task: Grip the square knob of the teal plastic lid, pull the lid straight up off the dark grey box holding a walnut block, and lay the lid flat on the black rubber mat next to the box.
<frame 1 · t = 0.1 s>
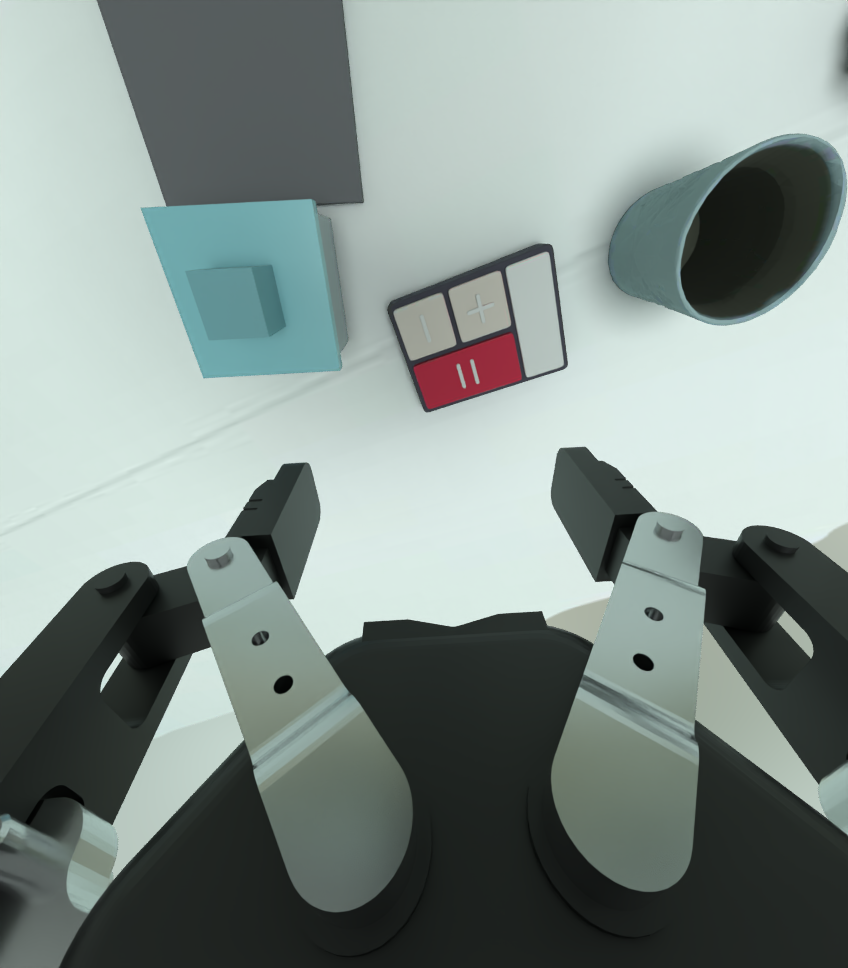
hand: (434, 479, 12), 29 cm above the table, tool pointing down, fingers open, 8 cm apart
mat: (239, 70, 27), on the table
lid: (263, 294, 29), point 6 cm above the table, touching box
grey cup: (652, 242, 34), on the table
box: (286, 287, 34), on the table
calculator: (476, 331, 38), on the table
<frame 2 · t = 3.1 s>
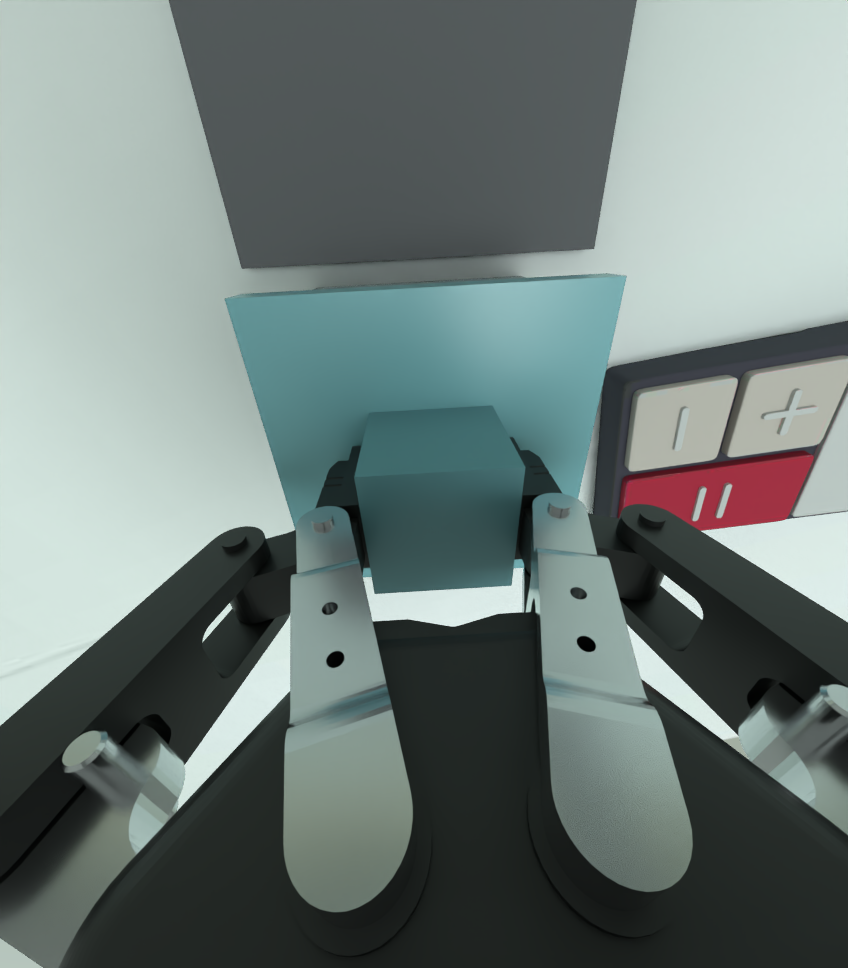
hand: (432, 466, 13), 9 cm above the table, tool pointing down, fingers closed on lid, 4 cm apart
lid: (429, 430, 15), point 7 cm above the table, touching box, gripper
box: (423, 382, 21), on the table
calculator: (711, 427, 24), on the table
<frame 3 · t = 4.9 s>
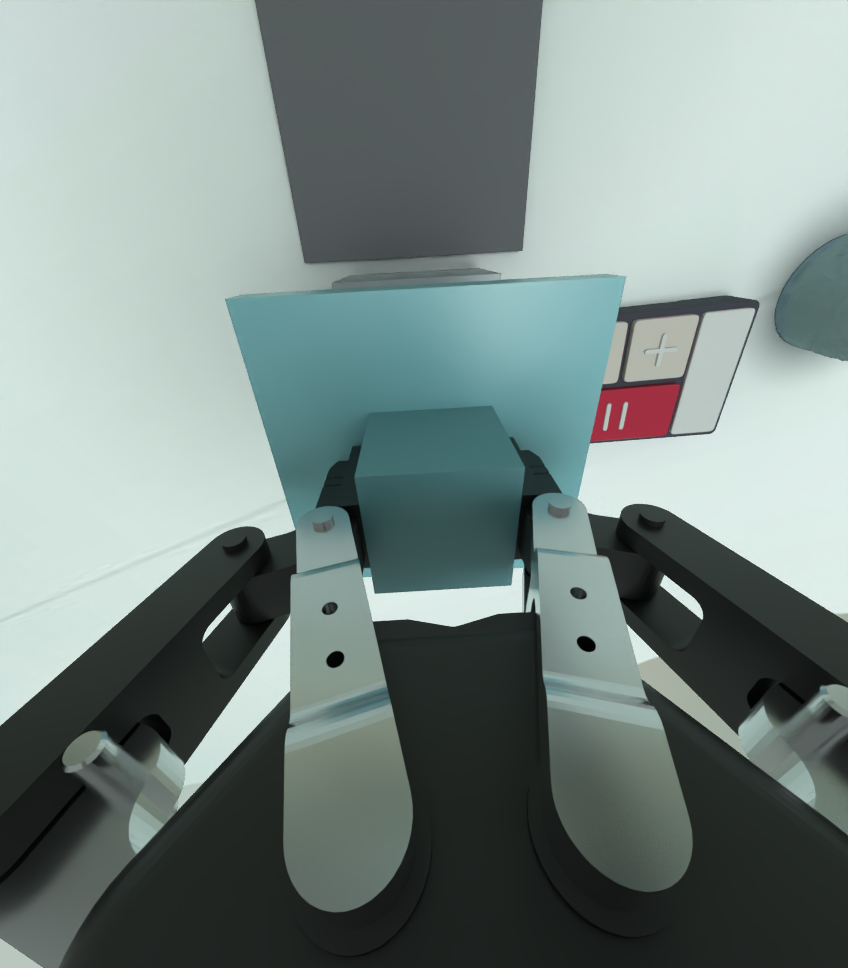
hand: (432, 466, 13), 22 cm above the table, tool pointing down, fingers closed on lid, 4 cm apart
mat: (405, 110, 24), on the table
lid: (429, 430, 15), point 19 cm above the table, touching gripper
grey cup: (827, 290, 30), on the table
box: (418, 340, 31), on the table
calculator: (622, 370, 34), on the table
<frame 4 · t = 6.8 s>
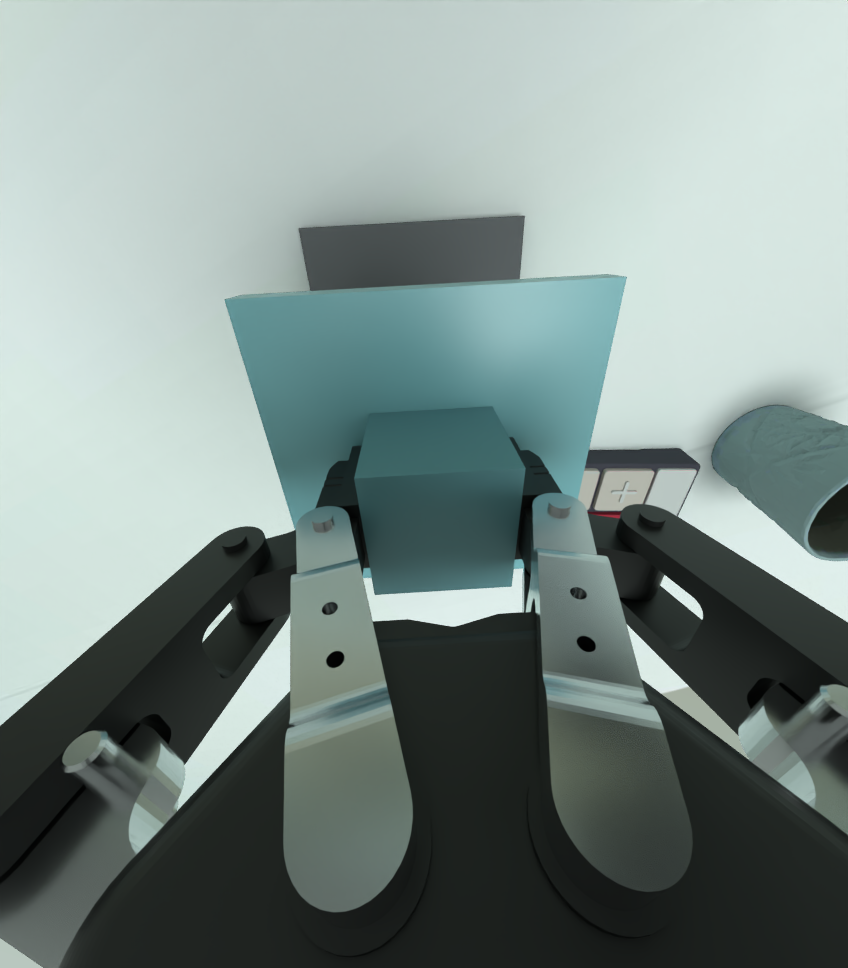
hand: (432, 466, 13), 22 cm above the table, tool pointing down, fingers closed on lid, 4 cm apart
mat: (417, 338, 31), on the table
lid: (429, 431, 15), point 19 cm above the table, touching gripper
grey cup: (752, 441, 38), on the table
calculator: (594, 490, 41), on the table
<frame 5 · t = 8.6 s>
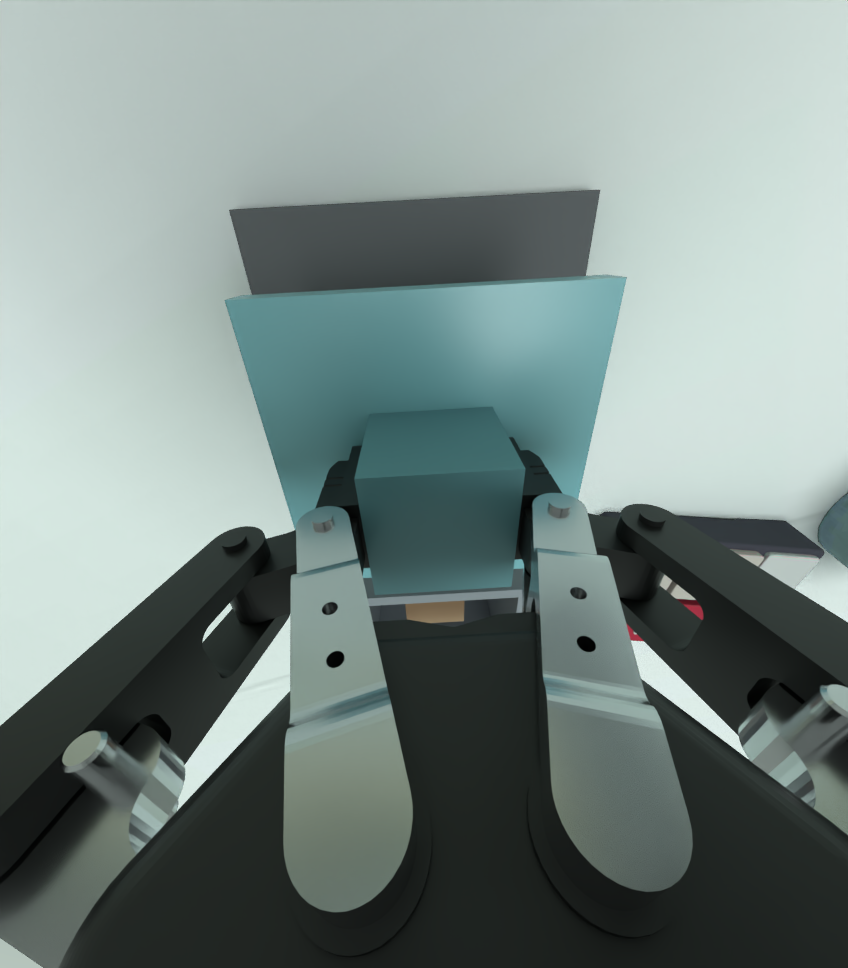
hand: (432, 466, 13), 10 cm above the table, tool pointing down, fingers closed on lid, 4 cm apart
mat: (422, 377, 21), on the table
lid: (429, 431, 15), point 7 cm above the table, touching gripper
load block: (431, 561, 28), point 1 cm above the table, touching box
box: (431, 555, 29), on the table
calculator: (660, 563, 31), on the table
when the fingers open (6 cm above the table, at t = 10.3 s): lid drops 2 cm, resting on mat.
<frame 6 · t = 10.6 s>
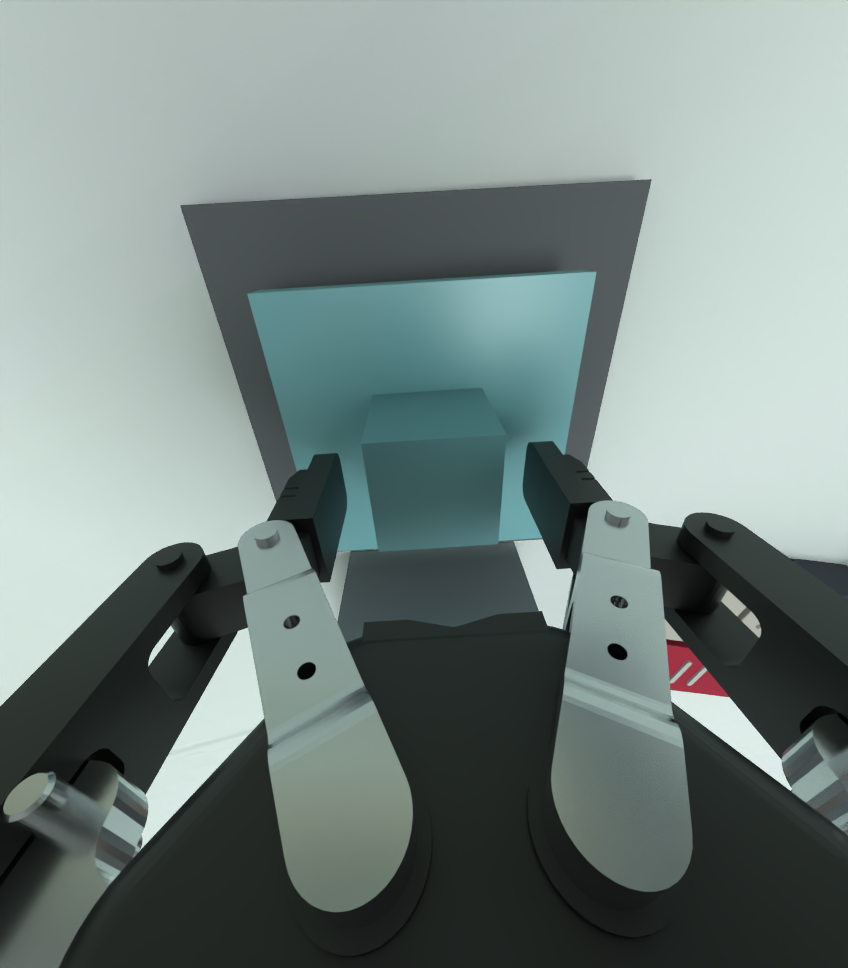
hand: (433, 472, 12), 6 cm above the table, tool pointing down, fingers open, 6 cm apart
mat: (425, 406, 18), on the table
lid: (426, 414, 17), point 1 cm above the table, touching mat
box: (434, 601, 25), on the table
calculator: (699, 601, 27), on the table
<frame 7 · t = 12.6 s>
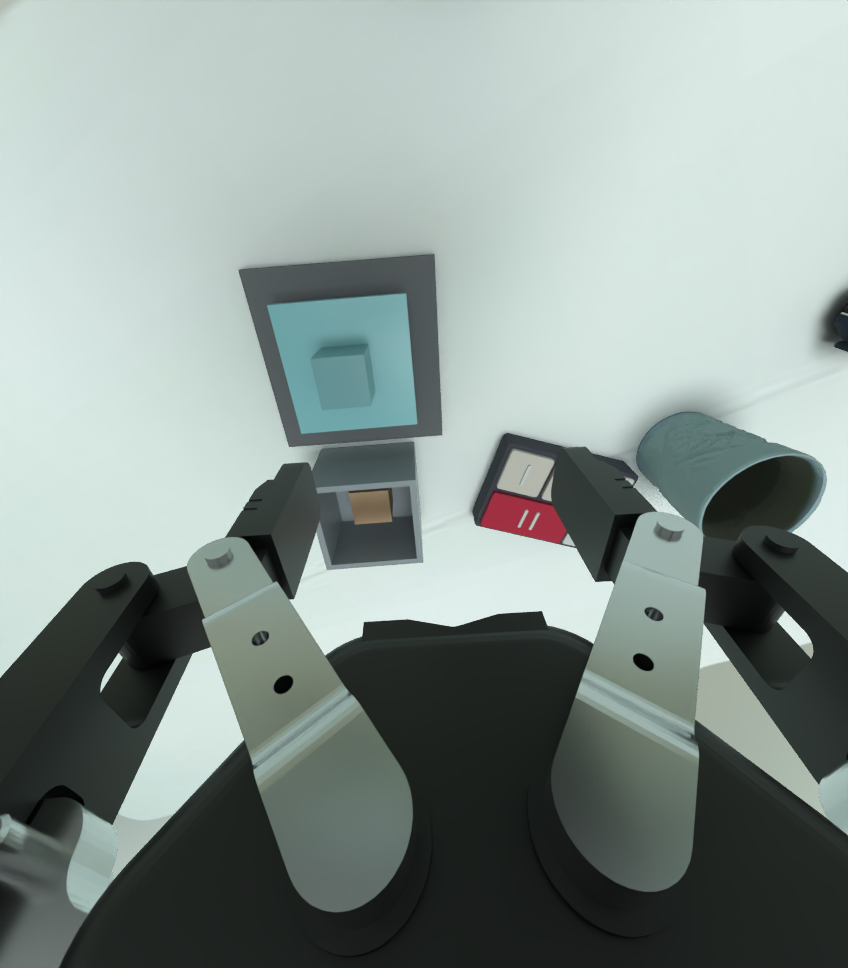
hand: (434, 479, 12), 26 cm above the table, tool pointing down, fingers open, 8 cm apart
mat: (354, 360, 35), on the table
lid: (352, 362, 34), point 1 cm above the table, touching mat
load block: (373, 487, 42), point 1 cm above the table, touching box
grey cup: (672, 445, 41), on the table
box: (374, 484, 42), on the table
calculator: (544, 485, 44), on the table
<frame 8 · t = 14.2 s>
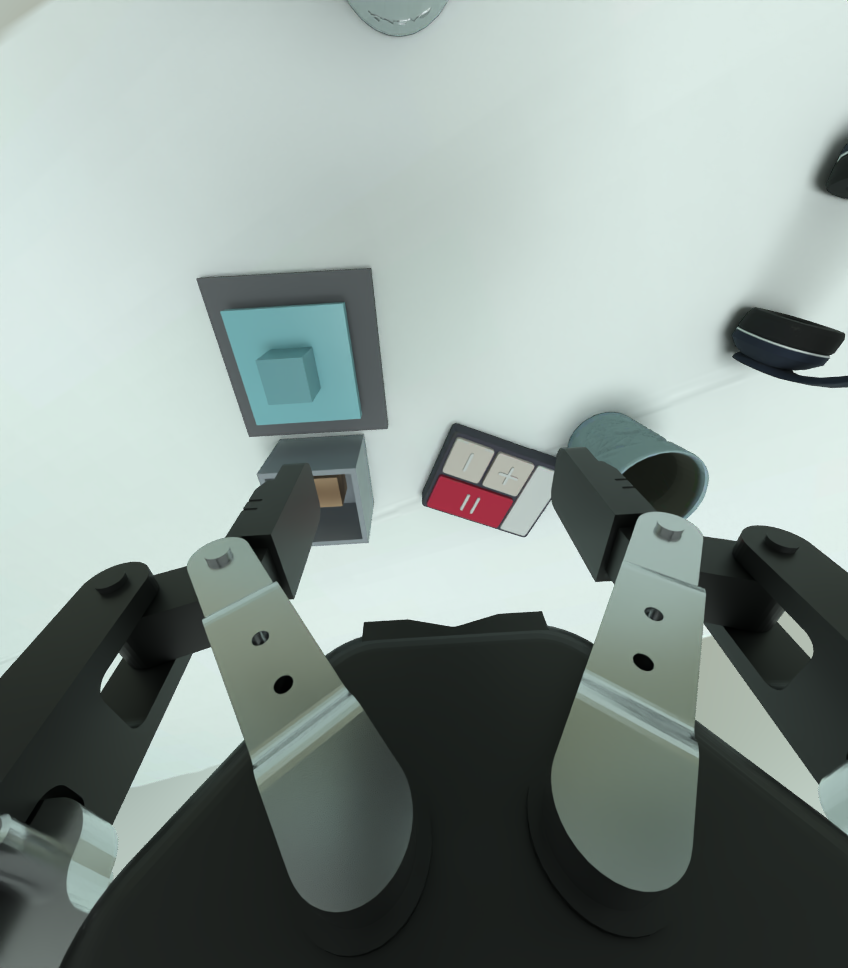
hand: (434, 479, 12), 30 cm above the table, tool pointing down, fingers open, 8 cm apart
headphones: (794, 256, 36), on the table
mat: (305, 359, 39), on the table
lid: (302, 362, 38), point 1 cm above the table, touching mat
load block: (328, 475, 46), point 1 cm above the table, touching box
grey cup: (599, 442, 46), on the table
box: (329, 472, 47), on the table
calculator: (488, 474, 48), on the table
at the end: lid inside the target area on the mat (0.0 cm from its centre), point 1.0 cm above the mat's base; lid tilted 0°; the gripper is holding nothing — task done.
